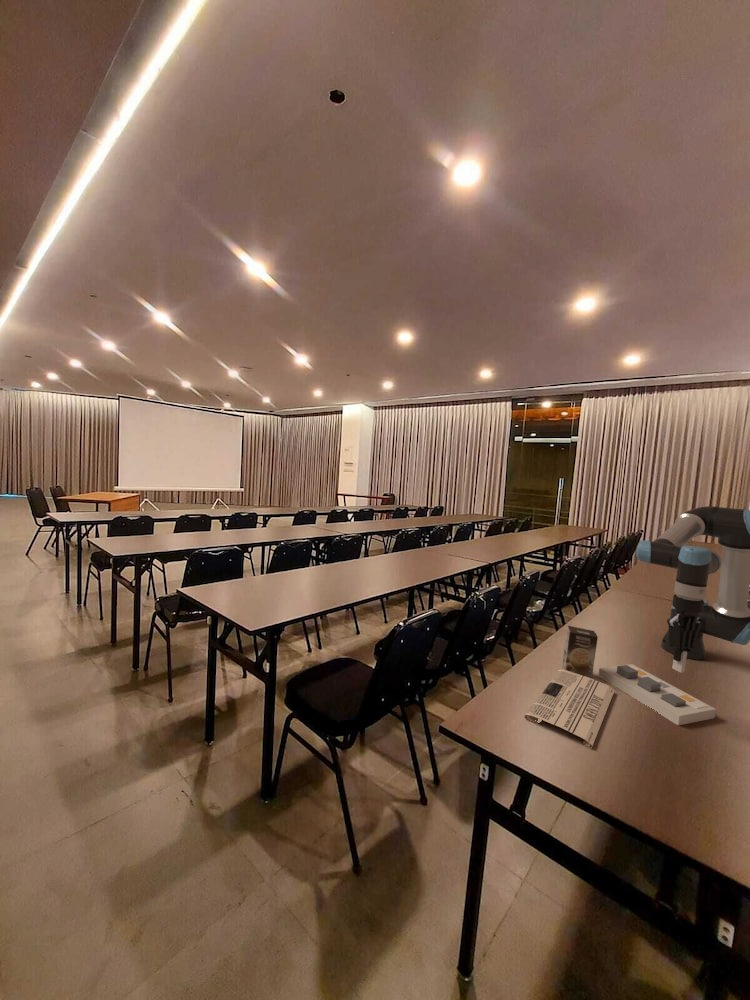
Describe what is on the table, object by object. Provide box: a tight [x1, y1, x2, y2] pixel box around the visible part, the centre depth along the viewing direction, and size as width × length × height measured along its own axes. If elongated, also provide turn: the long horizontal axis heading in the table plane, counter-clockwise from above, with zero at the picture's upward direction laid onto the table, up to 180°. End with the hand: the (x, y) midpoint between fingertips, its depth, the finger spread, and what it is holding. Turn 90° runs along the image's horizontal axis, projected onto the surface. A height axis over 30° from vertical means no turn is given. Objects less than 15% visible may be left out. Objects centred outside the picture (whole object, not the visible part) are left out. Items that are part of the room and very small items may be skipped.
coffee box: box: [561, 625, 599, 679], centre depth 145 cm, size 9×6×16 cm
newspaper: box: [524, 669, 615, 749], centre depth 125 cm, size 37×19×3 cm, turn 141°
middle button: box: [638, 677, 661, 693], centre depth 133 cm, size 4×4×3 cm
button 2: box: [661, 693, 686, 707], centre depth 126 cm, size 4×4×3 cm
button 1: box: [616, 664, 638, 679], centre depth 141 cm, size 4×4×3 cm
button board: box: [598, 663, 717, 726], centre depth 134 cm, size 16×28×3 cm, turn 19°
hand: (678, 670), depth 125 cm, fingers closed
